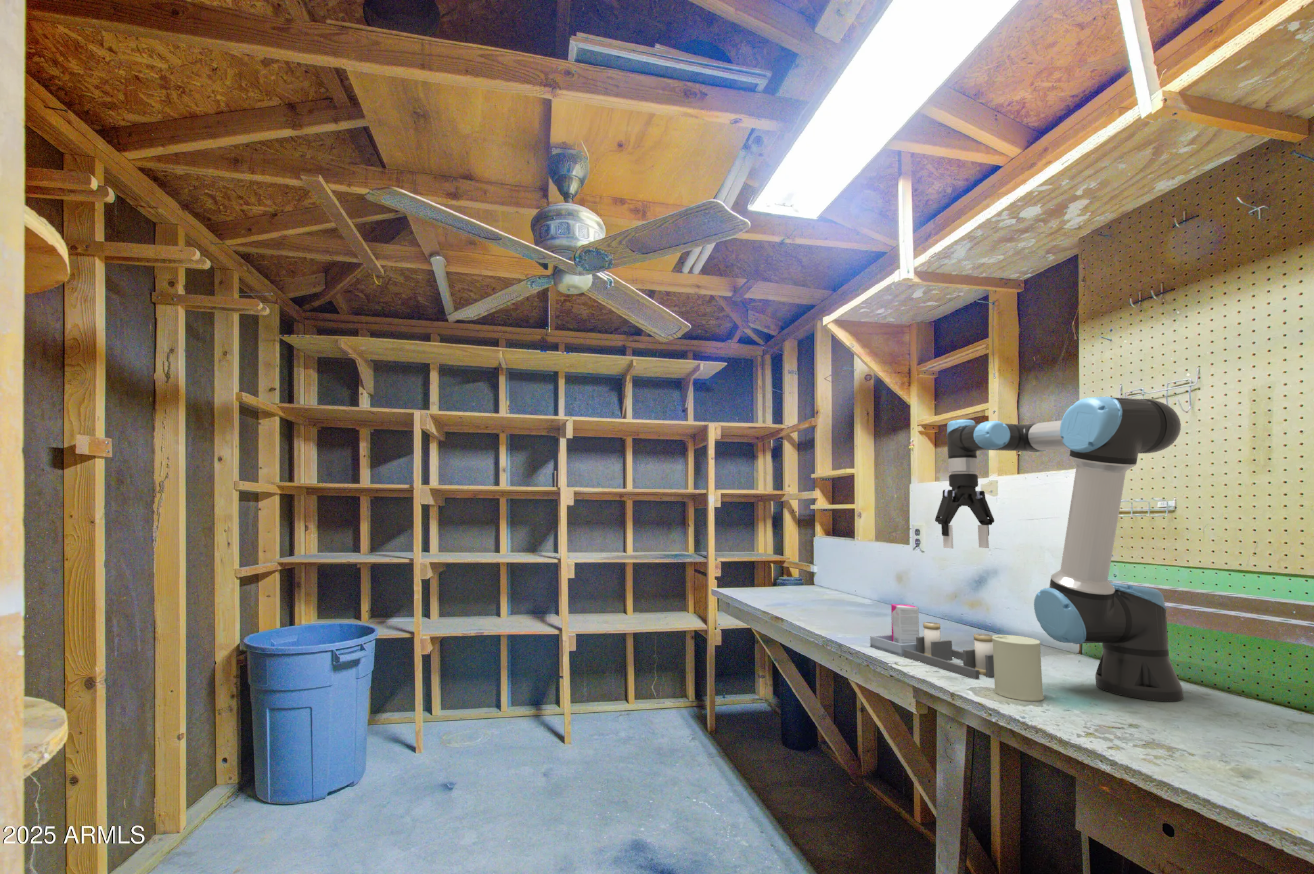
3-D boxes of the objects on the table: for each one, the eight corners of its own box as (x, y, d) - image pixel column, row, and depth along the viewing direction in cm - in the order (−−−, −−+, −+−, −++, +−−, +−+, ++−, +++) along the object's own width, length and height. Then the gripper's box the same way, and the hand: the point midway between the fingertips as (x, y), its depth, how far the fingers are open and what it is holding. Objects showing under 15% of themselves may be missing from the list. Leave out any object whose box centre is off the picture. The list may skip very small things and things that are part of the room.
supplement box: (920, 649, 168) (919, 607, 169) (899, 649, 168) (898, 606, 169) (911, 644, 173) (910, 603, 175) (891, 644, 173) (889, 603, 175)
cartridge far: (945, 659, 160) (943, 624, 161) (933, 660, 159) (931, 625, 160) (932, 655, 164) (931, 621, 165) (920, 656, 162) (919, 622, 163)
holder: (1017, 674, 146) (1016, 652, 147) (975, 679, 141) (974, 657, 142) (942, 653, 167) (941, 634, 167) (904, 657, 162) (903, 637, 162)
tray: (940, 652, 167) (940, 641, 168) (901, 656, 162) (901, 644, 163) (908, 643, 179) (908, 633, 179) (870, 646, 173) (870, 636, 174)
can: (996, 685, 136) (993, 630, 137) (1045, 693, 131) (1041, 636, 132) (991, 695, 129) (988, 637, 130) (1042, 704, 123) (1039, 643, 125)
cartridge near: (999, 674, 145) (997, 636, 146) (986, 676, 144) (984, 637, 145) (983, 670, 149) (982, 632, 150) (971, 671, 148) (969, 633, 149)
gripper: (983, 475, 183) (986, 546, 180) (919, 472, 174) (922, 547, 171) (1005, 474, 176) (1009, 548, 173) (940, 471, 167) (943, 549, 164)
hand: (966, 548), depth 172 cm, fingers open, 13 cm apart
